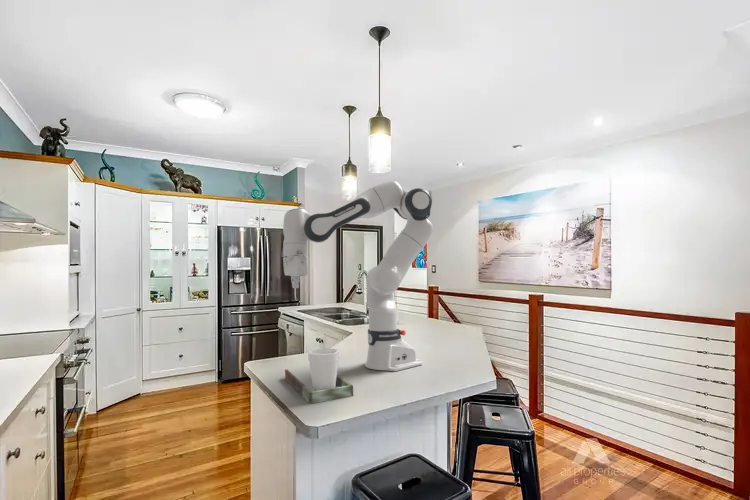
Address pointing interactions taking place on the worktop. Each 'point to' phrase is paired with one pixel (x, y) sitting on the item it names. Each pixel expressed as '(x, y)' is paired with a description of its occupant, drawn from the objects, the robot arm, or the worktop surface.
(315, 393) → the channel
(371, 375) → the worktop surface
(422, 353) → the worktop surface
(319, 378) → the foam cup
